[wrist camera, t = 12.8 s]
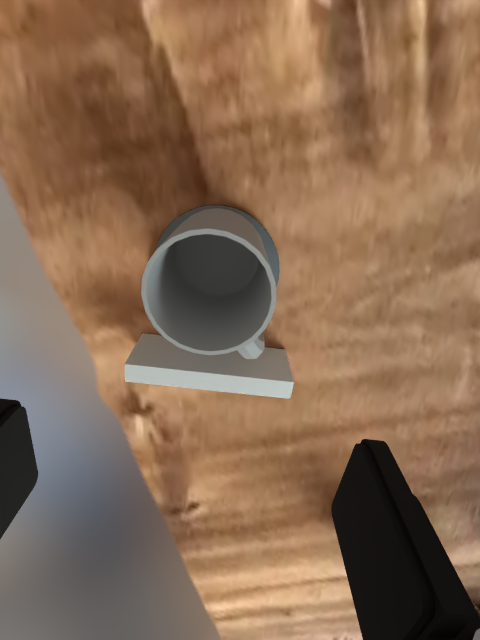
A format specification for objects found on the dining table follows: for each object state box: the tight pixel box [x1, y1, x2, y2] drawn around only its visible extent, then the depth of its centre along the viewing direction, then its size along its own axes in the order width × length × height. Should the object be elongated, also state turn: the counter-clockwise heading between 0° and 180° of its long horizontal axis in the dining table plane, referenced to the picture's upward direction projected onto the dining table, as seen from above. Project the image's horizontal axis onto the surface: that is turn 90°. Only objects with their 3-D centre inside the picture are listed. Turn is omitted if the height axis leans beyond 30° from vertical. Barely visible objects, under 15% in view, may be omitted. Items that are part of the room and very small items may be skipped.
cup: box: [141, 208, 277, 359], centre depth 22 cm, size 7×10×9 cm
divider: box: [125, 333, 294, 399], centre depth 28 cm, size 2×13×5 cm, turn 82°
